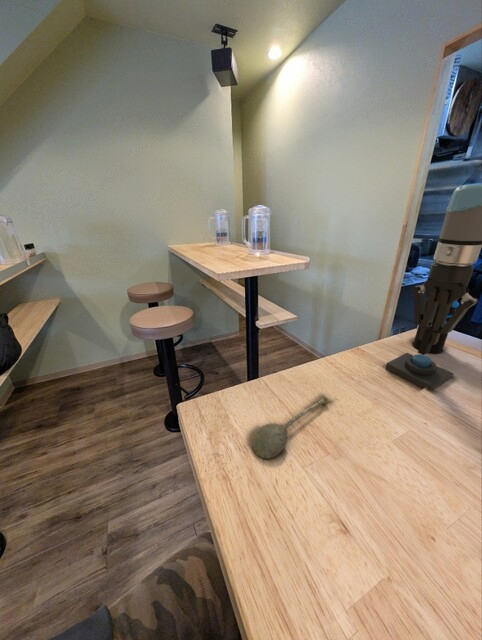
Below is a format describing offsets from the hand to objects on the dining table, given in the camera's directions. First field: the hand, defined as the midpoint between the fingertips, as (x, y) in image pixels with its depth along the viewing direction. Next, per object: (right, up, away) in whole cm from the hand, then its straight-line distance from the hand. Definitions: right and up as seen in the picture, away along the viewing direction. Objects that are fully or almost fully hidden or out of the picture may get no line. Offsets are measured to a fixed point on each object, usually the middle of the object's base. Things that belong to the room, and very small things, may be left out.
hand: (423, 352), depth 66 cm
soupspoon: (-36, -15, -11) cm, 41 cm away
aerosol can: (+12, -1, +15) cm, 20 cm away
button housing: (0, -7, +3) cm, 7 cm away
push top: (0, -3, +2) cm, 4 cm away
